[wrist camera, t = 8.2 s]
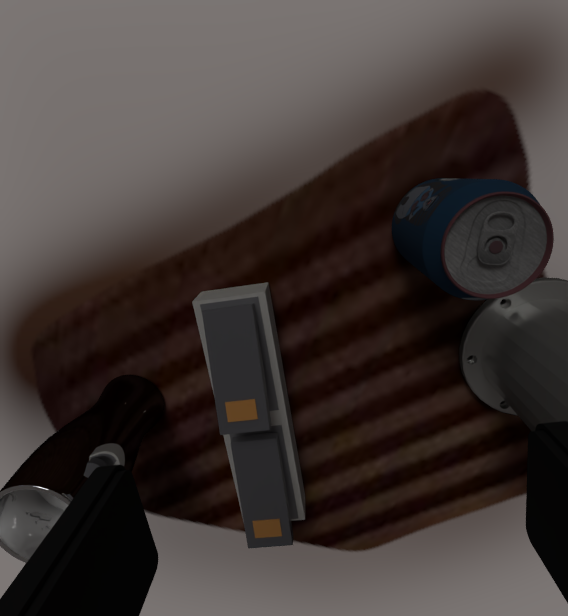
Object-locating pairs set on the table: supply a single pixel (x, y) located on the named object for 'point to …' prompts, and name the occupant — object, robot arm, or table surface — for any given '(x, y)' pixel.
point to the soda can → (474, 236)
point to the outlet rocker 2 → (262, 490)
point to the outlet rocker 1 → (237, 369)
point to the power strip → (273, 380)
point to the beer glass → (76, 461)
